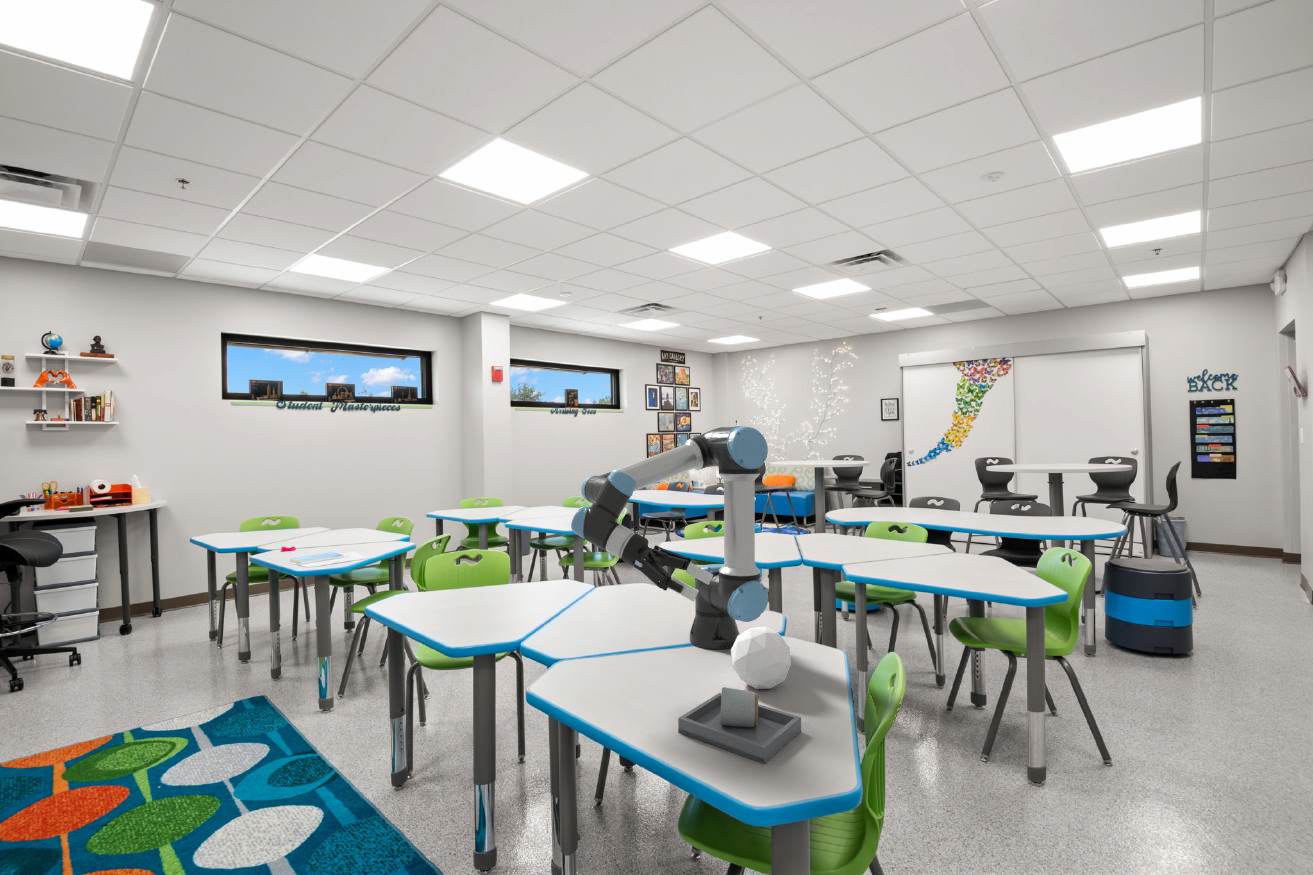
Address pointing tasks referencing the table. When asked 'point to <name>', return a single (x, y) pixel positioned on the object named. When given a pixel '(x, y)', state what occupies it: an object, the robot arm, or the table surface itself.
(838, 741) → the table surface
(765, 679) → the geometric shape
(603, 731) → the table surface
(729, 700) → the grey rounded cylinder
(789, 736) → the tray
